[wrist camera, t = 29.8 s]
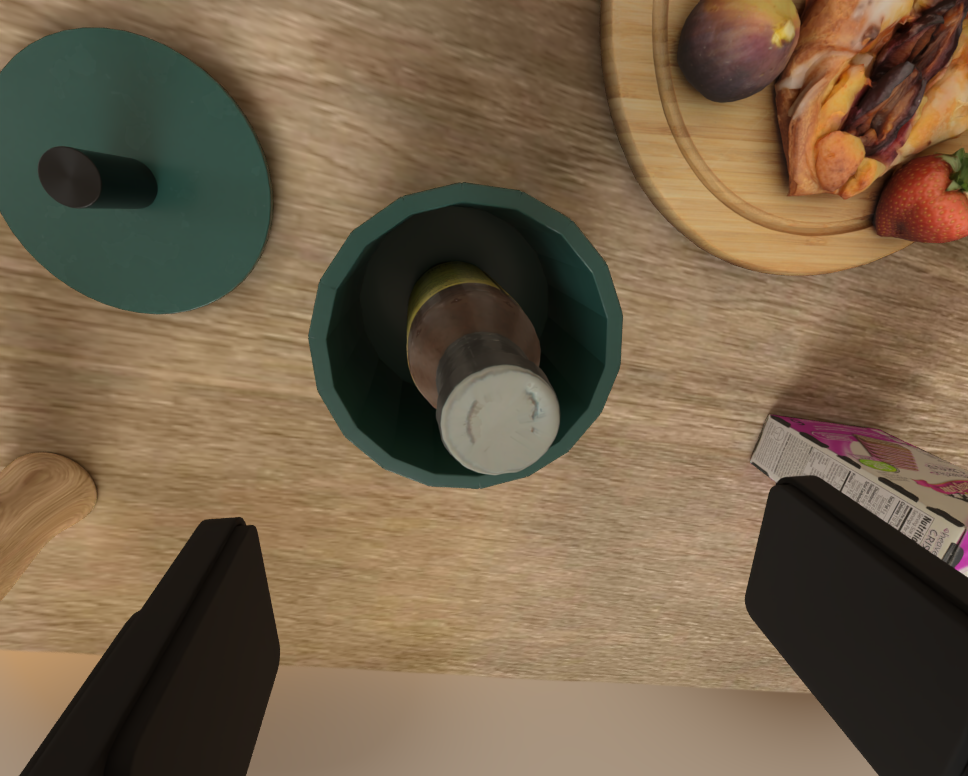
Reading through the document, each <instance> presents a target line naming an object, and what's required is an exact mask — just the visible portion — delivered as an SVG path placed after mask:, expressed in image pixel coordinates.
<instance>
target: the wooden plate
mask: <svg viewBox="0 0 968 776" xmlns="http://www.w3.org/2000/svg"><path fill="white" fill-rule="evenodd" d="M600 47H601V61H602V70H603V77H604V84H605V90H606V95H607V100H608V104H609V108H610V113H611V117H612V120H613V123H614V126H615V130H616V133H617V136H618V139H619V142H620V144H621V147H622V149H623V152H624V154H625V156H626V159H627V161H628V163H629V165H630V168H631V170H632V172H633V174H634V176H635V178H636V180H637V181H638V183H639V185H640V186H641V188H642V189H643V191H644V192H645V194H646V195H647V196H648V198H649V199H650V201H651V202H652V204H653V205H654V206H655V207H656V208H657V209H658V210H659V212H660V213H661V214H662V215H663V216H664V217H665V218H666V219H667V220H668V221H669V222H670V223H671V224H672V225H673V226H674V227H675V228H676V229H677V230H678V231H679V232H681V233H682V234H683V235H684V236H686V237H687V238H688V239H689V240H691V241H692V242H693V243H694V244H696V245H697V246H698V247H700V248H701V249H703V250H705V251H707V252H708V253H710V254H712V255H713V256H715V257H718V258H720V259H722V260H724V261H727V262H729V263H731V264H733V265H736V266H739V267H743V268H746V269H749V270H753V271H757V272H761V273H768V274H775V275H791V276H796V275H800V276H809V275H818V274H827V273H833V272H838V271H842V270H846V269H850V268H855V267H859V266H862V265H865V264H868V263H871V262H874V261H876V260H878V259H881V258H883V257H885V256H888V255H890V254H892V253H895V252H897V251H899V250H902V249H903V248H905V247H907V246H909V245H910V244H912V243H914V242H923V243H946V242H950V241H955V240H958V239H961V238H963V237H966V236H968V0H601V8H600Z"/></svg>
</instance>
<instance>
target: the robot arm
mask: <svg viewBox="0 0 968 776" xmlns="http://www.w3.org/2000/svg"><path fill="white" fill-rule="evenodd" d="M745 605H746V608H747V611H748V613H749V615H750V617H751V618H752V620H753V621H754V622H755V623H756V624H757V626H758V627H759V628H760V629H761V631H762V632H763V633H764V634H765V636H766V637H767V638H768V639H769V641H770V642H771V643H772V644H773V645H774V647H775V648H776V649H777V650H778V652H779V653H780V654H781V655H782V657H783V658H784V659H785V660H786V661H787V663H788V664H789V665H790V666H791V668H792V669H793V670H794V671H795V673H796V674H797V675H798V676H799V678H800V679H801V680H802V681H803V682H804V684H805V685H806V686H807V687H808V689H809V690H810V691H811V692H812V694H813V695H814V696H815V697H816V698H817V700H818V701H819V702H820V703H821V705H822V706H823V707H824V708H825V710H826V711H827V712H828V713H829V715H830V716H831V717H832V718H833V719H834V720H835V722H836V723H837V724H838V726H839V727H840V728H841V729H842V731H843V732H844V733H845V734H846V735H847V737H848V738H849V739H850V740H851V742H852V743H853V744H854V745H855V747H856V748H857V749H858V750H859V751H860V753H861V754H862V755H863V757H864V758H865V759H866V760H867V761H868V763H869V764H870V765H871V766H872V768H873V769H874V770H875V771H876V773H877V774H878V775H879V776H968V577H967V576H965V575H964V574H962V573H961V572H959V571H958V570H956V569H955V568H953V567H952V566H950V565H949V564H947V563H946V562H944V561H943V560H941V559H940V558H939V557H937V556H936V555H934V554H933V553H931V552H930V551H928V550H927V549H925V548H924V547H922V546H921V545H919V544H918V543H916V542H915V541H913V540H912V539H910V538H909V537H907V536H906V535H904V534H903V533H901V532H900V531H899V530H897V529H896V528H894V527H893V526H891V525H890V524H888V523H887V522H885V521H884V520H882V519H881V518H879V517H878V516H876V515H875V514H873V513H872V512H870V511H869V510H867V509H866V508H864V507H863V506H861V505H860V504H859V503H857V502H856V501H854V500H853V499H851V498H850V497H848V496H847V495H845V494H844V493H842V492H841V491H839V490H838V489H836V488H835V487H833V486H832V485H830V484H829V483H827V482H826V481H824V480H823V479H821V478H820V477H817V476H815V475H805V476H792V477H783V478H781V479H779V481H778V482H777V483H776V486H773V487H772V488H771V489H770V492H769V495H768V499H767V504H766V508H765V512H764V517H763V521H762V525H761V530H760V534H759V538H758V542H757V547H756V551H755V555H754V560H753V564H752V568H751V573H750V577H749V581H748V586H747V590H746V594H745ZM279 660H280V645H279V639H278V634H277V629H276V624H275V619H274V614H273V609H272V604H271V598H270V593H269V588H268V583H267V578H266V573H265V568H264V563H263V557H262V552H261V547H260V542H259V537H258V532H257V529H256V527H255V526H254V525H246V523H245V521H244V520H243V518H241V517H235V518H221V519H208V520H204V521H202V522H201V523H200V524H199V525H198V527H197V528H196V530H195V531H194V533H193V534H192V536H191V537H190V539H189V540H188V541H187V543H186V544H185V546H184V547H183V549H182V550H181V552H180V553H179V555H178V556H177V558H176V559H175V560H174V562H173V563H172V565H171V566H170V568H169V569H168V571H167V572H166V574H165V575H164V577H163V578H162V579H161V581H160V582H159V584H158V585H157V587H156V588H155V590H154V591H153V593H152V594H151V596H150V597H149V598H148V600H147V601H146V603H145V604H144V606H143V607H142V609H141V610H140V611H138V612H136V613H134V614H133V615H132V616H131V618H130V619H129V620H128V621H127V622H126V623H125V625H124V626H123V628H122V629H121V631H120V632H119V633H118V635H117V636H116V638H115V639H114V641H113V642H112V643H111V645H110V646H109V648H108V649H107V651H106V652H105V653H104V655H103V656H102V658H101V659H100V661H99V662H98V664H97V665H96V666H95V668H94V669H93V671H92V672H91V674H90V675H89V676H88V678H87V679H86V681H85V682H84V684H83V685H82V687H81V688H80V689H79V691H78V692H77V694H76V695H75V696H74V698H73V699H72V701H71V702H70V704H69V705H68V707H67V708H66V710H65V711H64V712H63V714H62V715H61V717H60V718H59V719H58V721H57V722H56V724H55V725H54V727H53V728H52V729H51V731H50V732H49V734H48V735H47V737H46V738H45V739H44V741H43V742H42V744H41V745H40V747H39V748H38V750H37V751H36V752H35V754H34V755H33V757H32V758H31V759H30V761H29V762H28V764H27V765H26V767H25V768H24V770H23V771H22V772H21V774H20V775H19V776H246V774H247V770H248V767H249V763H250V760H251V757H252V753H253V750H254V747H255V744H256V740H257V737H258V733H259V730H260V727H261V724H262V720H263V717H264V714H265V710H266V707H267V704H268V700H269V697H270V694H271V690H272V687H273V684H274V681H275V677H276V674H277V670H278V666H279Z"/></svg>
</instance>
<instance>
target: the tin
mask: <svg viewBox="0 0 968 776" xmlns="http://www.w3.org/2000/svg"><path fill="white" fill-rule="evenodd" d="M450 261H459V262H465V263H470V264H472V265H475V266H477V267H478V268H479V269H480V270H482V271H485V272H486V273H487V274H488V275H489V276H490V277H491V278H492V279H493V280H494V281H496V282H497V283H498V284H499V285H500V286H501V287H502V288H503V289H504V290H505V291H506V292H507V293H508V294H509V295H510V296H511V297H512V298H513V299H514V300H515V301H516V302H517V303H518V304H519V306H520V307H521V309H522V310H523V311H524V313H525V314H526V315H527V317H528V318H529V320H530V321H531V323H532V325H533V327H534V329H535V332H536V334H537V337H538V339H539V342H540V349H541V352H540V363H539V368H540V369H541V370H542V371H543V372H544V373H545V375H546V376H547V378H548V381H549V382H550V384H551V386H552V387H553V389H554V391H555V393H556V396H557V399H558V402H559V407H560V425H559V429H558V433H557V435H556V438H555V440H554V441H553V443H552V444H551V446H550V447H549V449H548V451H547V452H546V453H545V454H544V455H543V456H541V457H540V458H539V459H538V460H537V461H536V462H535V463H533V464H532V465H530V466H528V467H527V468H525V469H523V470H521V471H518V472H516V473H504V474H499V475H488V474H482V473H478V472H475V471H473V470H470V469H467V468H466V467H464V466H463V465H462V464H461V463H460V462H458V461H457V460H456V459H455V458H454V457H453V456H452V455H451V454H450V453H449V452H448V450H447V449H446V447H445V446H444V444H443V442H442V440H441V435H440V430H439V426H438V422H437V419H436V410H437V409H435V408H434V407H433V406H432V405H431V404H430V403H429V402H428V401H427V399H426V398H424V396H423V395H422V394H421V392H420V391H419V390H418V388H417V386H416V385H415V383H414V381H413V378H412V376H411V373H410V370H409V366H408V360H407V347H406V346H407V313H408V302H409V298H410V295H411V292H412V290H413V287H414V285H415V283H416V282H417V280H418V279H419V278H420V277H421V276H422V275H423V274H424V273H425V272H426V271H427V270H429V269H430V268H431V267H432V266H433V265H435V264H438V263H441V262H450ZM622 325H623V315H622V310H621V307H620V304H619V300H618V297H617V294H616V291H615V288H614V284H613V281H612V278H611V275H610V272H609V268H608V265H607V264H606V262H605V260H604V259H603V258H602V257H601V255H600V254H599V253H598V252H597V250H596V249H595V248H594V247H593V245H592V244H591V243H590V242H589V240H588V239H587V238H586V237H585V235H584V234H583V233H582V231H581V230H580V229H579V228H578V226H577V225H576V224H575V223H574V221H571V219H570V218H568V217H567V216H565V215H563V214H561V213H560V212H558V211H556V210H554V209H553V208H551V207H549V206H547V205H546V204H544V203H542V202H541V201H539V200H537V199H535V198H534V197H532V196H530V195H528V194H527V193H525V192H521V191H520V190H514V189H507V188H500V187H493V186H486V185H479V184H473V183H466V182H463V183H460V182H459V183H455V184H451V185H447V186H443V187H438V188H434V189H430V190H426V191H422V192H418V193H413V194H409V195H405V196H403V197H400V198H399V199H397V200H396V201H394V202H393V203H391V204H390V205H389V206H387V207H386V208H384V209H383V210H382V211H380V212H379V213H377V214H376V215H374V216H373V217H372V218H370V219H369V220H367V221H366V222H364V223H363V224H362V225H360V226H359V227H357V228H356V229H355V230H353V231H352V232H351V233H350V235H349V236H348V238H347V240H346V241H345V243H344V244H343V246H342V247H341V249H340V250H339V252H338V253H337V255H336V256H335V258H334V259H333V261H332V263H331V264H330V266H329V267H328V269H327V270H326V272H325V273H324V275H323V276H322V278H321V279H320V282H319V285H318V290H317V295H316V300H315V305H314V310H313V315H312V320H311V325H310V330H309V335H308V337H309V338H308V340H309V346H310V351H311V357H312V363H313V369H314V374H315V380H316V386H317V390H318V393H319V394H320V396H321V398H322V399H323V401H324V403H325V404H326V406H327V408H328V410H329V411H330V413H331V415H332V416H333V418H334V420H335V421H336V423H337V425H338V426H339V428H340V430H341V432H342V433H343V435H344V436H345V437H346V438H347V439H348V440H349V441H351V442H352V443H353V444H354V445H355V446H357V447H358V448H359V449H360V450H361V451H363V452H364V453H365V454H366V455H367V456H369V457H370V458H371V459H372V460H373V461H375V462H376V463H377V464H378V465H379V466H381V467H382V468H384V469H385V470H388V471H391V472H393V473H396V474H399V475H401V476H404V477H406V478H409V479H412V480H414V481H417V482H419V483H422V484H425V485H427V486H432V487H451V488H471V489H479V488H480V489H482V488H485V487H489V486H493V485H497V484H501V483H505V482H509V481H513V480H516V479H520V478H524V477H526V476H527V477H528V476H530V475H531V474H533V473H535V472H536V471H538V470H539V469H541V468H543V467H544V466H546V465H548V464H549V463H551V462H552V461H554V460H556V459H557V458H559V457H560V456H562V455H564V454H565V453H567V452H568V451H569V450H570V449H571V448H572V447H573V446H574V444H575V443H576V442H577V441H578V440H579V438H580V437H581V436H582V435H583V434H584V433H585V431H586V430H587V429H588V428H589V427H590V426H591V424H592V423H593V422H594V421H595V420H596V419H597V417H598V416H599V415H600V413H601V412H602V410H603V408H604V405H605V403H606V401H607V398H608V396H609V393H610V391H611V388H612V386H613V383H614V381H615V379H616V376H617V374H618V371H619V369H620V364H621V345H622Z"/></svg>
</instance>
